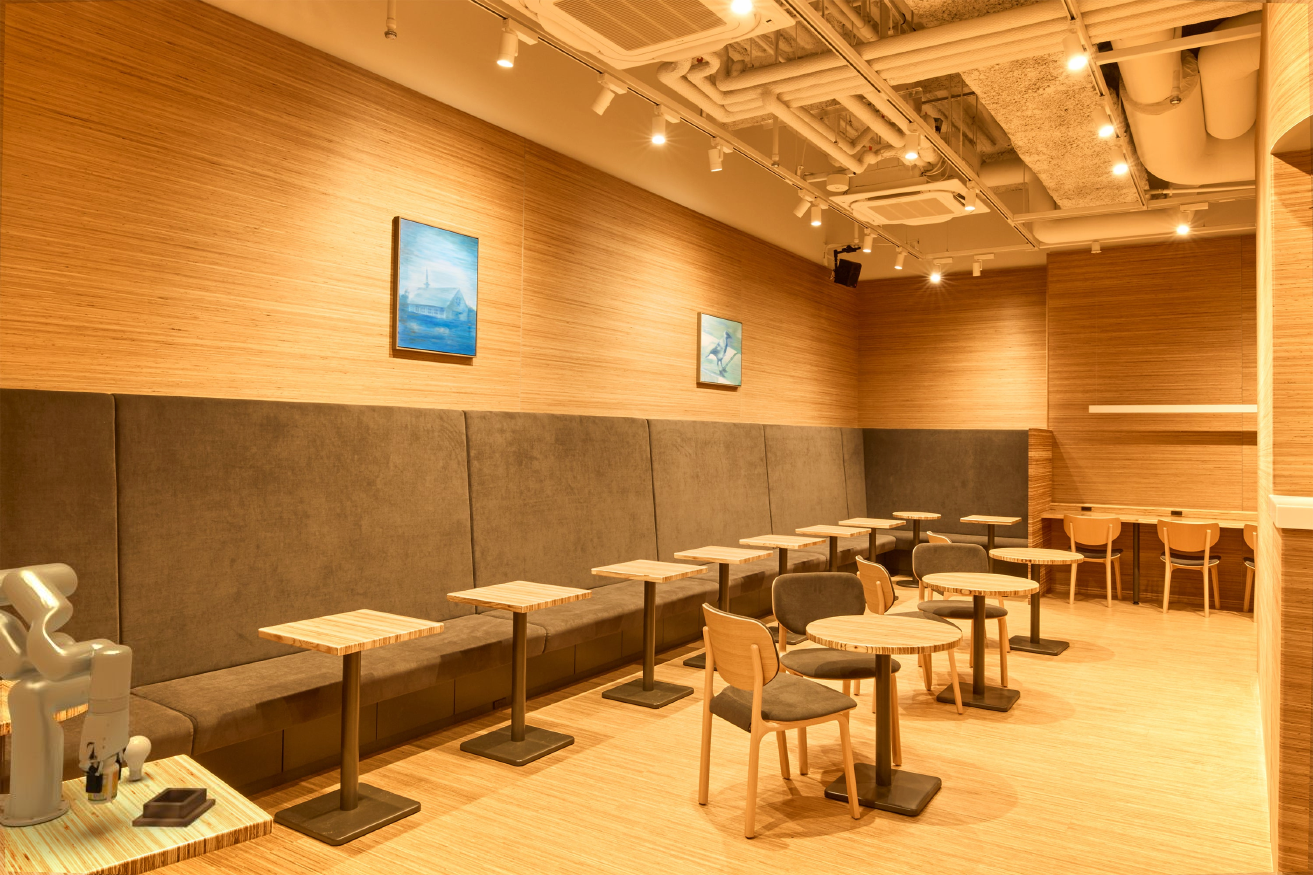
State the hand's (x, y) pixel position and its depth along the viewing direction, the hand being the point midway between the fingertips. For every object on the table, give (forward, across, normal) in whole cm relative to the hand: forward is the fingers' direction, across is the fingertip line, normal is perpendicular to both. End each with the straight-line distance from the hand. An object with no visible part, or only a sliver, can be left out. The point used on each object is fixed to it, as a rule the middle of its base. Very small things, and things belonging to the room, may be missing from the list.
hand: (103, 785), depth 176 cm
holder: (+10, -8, +11) cm, 17 cm away
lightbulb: (+11, -28, -10) cm, 31 cm away
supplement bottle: (+3, 0, 0) cm, 3 cm away
